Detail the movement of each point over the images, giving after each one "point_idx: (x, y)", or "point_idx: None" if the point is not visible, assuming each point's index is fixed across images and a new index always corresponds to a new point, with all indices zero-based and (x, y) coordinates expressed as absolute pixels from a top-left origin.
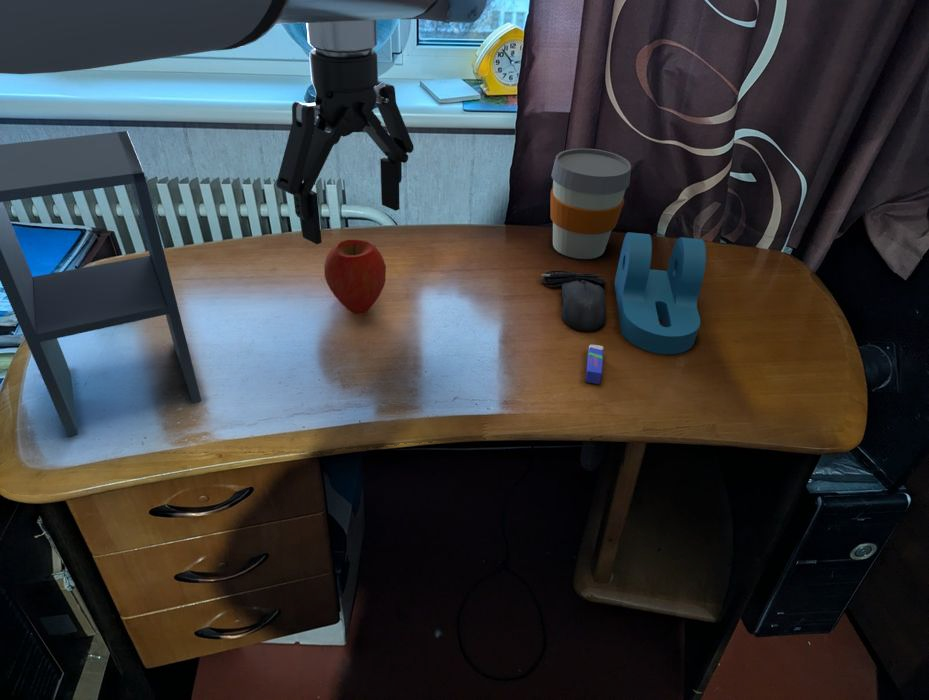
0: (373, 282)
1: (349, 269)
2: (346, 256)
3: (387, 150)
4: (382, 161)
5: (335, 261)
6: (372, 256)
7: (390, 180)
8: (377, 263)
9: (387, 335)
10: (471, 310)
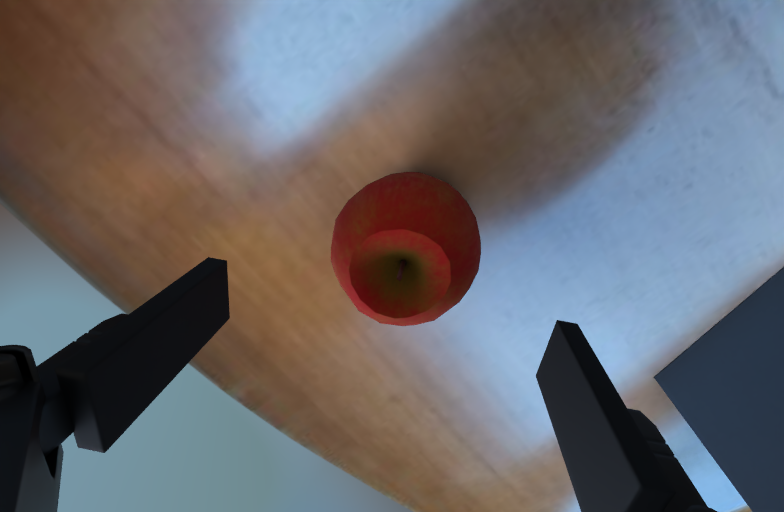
0: (428, 178)
1: (465, 236)
2: (446, 267)
3: (37, 470)
4: (109, 434)
5: (464, 282)
6: (397, 215)
7: (158, 341)
8: (394, 196)
9: (449, 111)
10: (257, 6)
